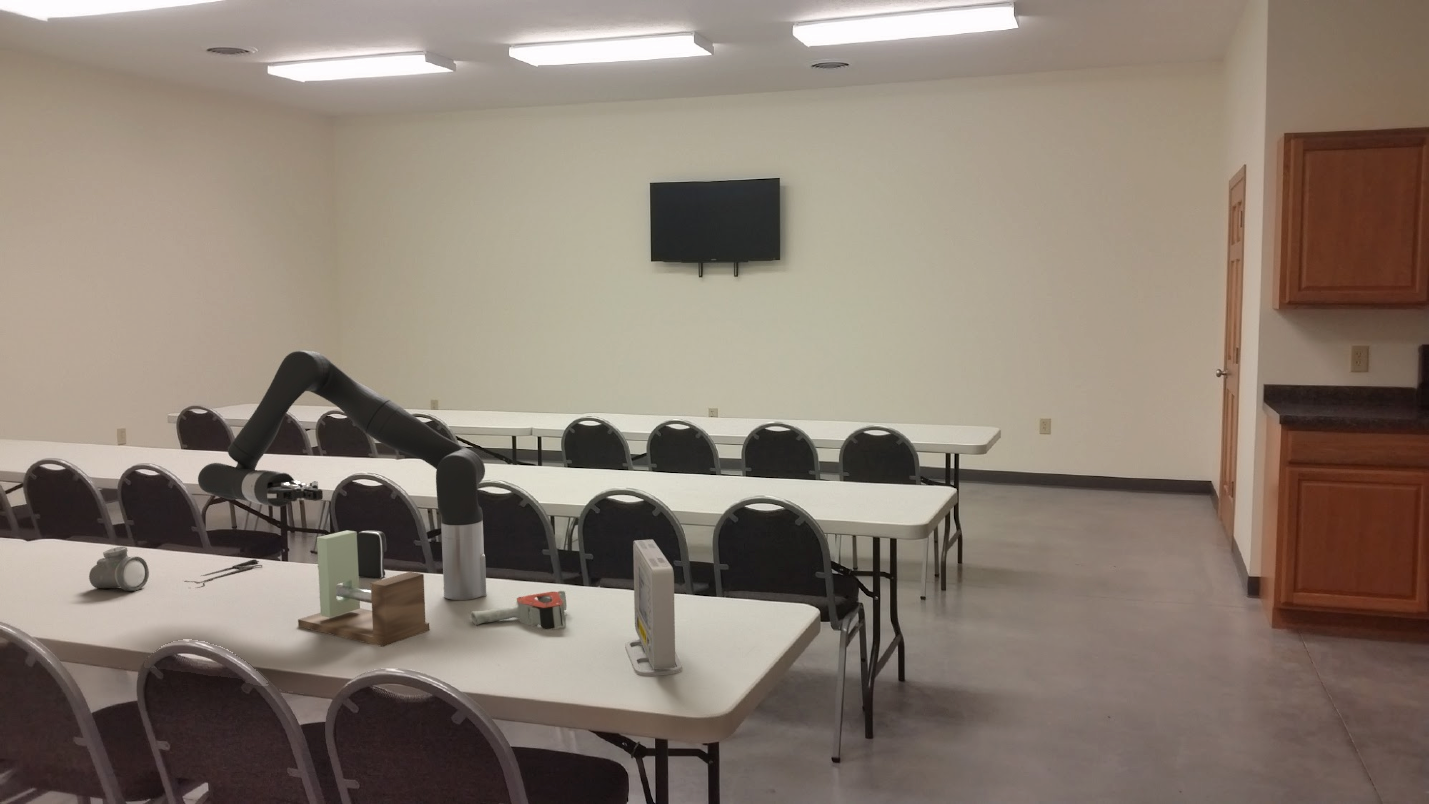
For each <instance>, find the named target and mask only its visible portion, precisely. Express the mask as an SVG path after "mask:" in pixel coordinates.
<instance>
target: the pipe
mask: <svg viewBox="0 0 1429 804" xmlns="http://www.w3.org/2000/svg"><path fill="white" fill-rule="evenodd" d="M336 596H337V597H338V598H340V597H343V598H348V599H353V600H358V601H360V602H363V603H368V604H372V598H371V590H369V589H364V588H360V587H359V588H354V587H349V586H344V585H343V584H336Z"/></svg>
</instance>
